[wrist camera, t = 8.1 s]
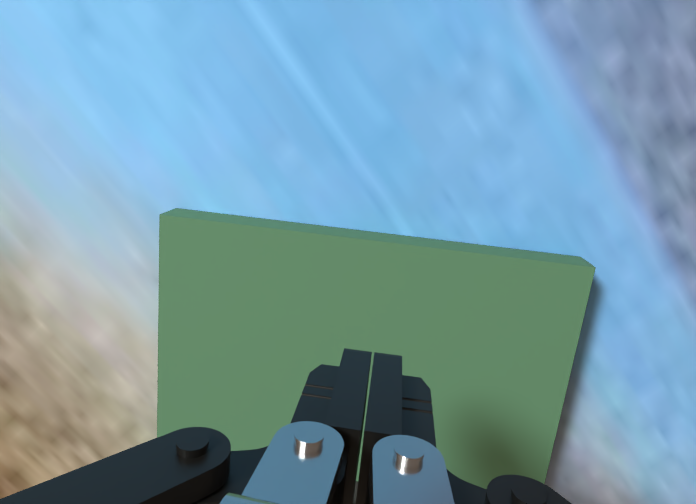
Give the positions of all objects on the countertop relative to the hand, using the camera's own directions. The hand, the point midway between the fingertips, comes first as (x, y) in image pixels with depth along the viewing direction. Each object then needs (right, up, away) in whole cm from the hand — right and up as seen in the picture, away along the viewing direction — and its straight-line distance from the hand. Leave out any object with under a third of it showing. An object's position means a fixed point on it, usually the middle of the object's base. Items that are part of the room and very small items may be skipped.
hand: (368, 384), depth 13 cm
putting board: (0, -4, +9) cm, 10 cm away
